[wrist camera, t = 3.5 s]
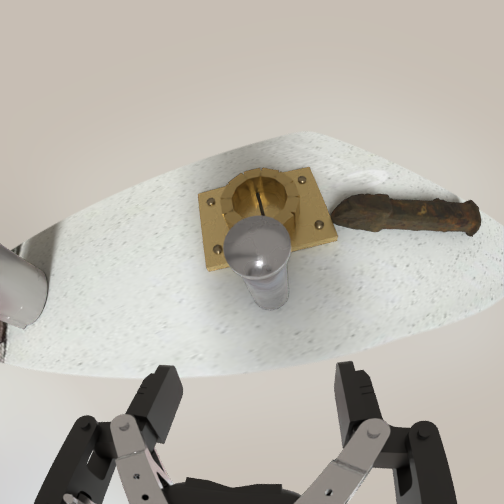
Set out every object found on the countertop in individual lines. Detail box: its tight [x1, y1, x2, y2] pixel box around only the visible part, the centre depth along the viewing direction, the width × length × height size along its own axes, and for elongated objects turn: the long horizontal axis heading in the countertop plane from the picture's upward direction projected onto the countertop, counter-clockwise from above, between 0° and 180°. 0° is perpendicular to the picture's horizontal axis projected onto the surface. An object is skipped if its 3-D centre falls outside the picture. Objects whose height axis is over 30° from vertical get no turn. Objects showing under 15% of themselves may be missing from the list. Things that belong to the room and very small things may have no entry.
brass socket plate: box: [198, 167, 338, 272], centre depth 30 cm, size 14×10×4 cm
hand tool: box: [331, 194, 481, 237], centre depth 27 cm, size 19×4×5 cm, turn 84°
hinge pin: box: [223, 216, 291, 310], centre depth 23 cm, size 4×4×11 cm
